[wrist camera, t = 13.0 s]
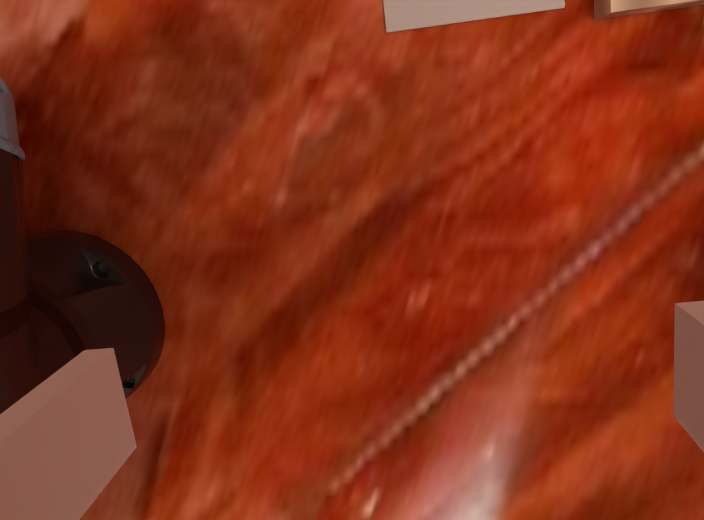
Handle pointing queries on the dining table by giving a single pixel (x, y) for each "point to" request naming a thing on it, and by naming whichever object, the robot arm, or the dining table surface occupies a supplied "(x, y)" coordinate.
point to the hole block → (637, 6)
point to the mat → (456, 11)
